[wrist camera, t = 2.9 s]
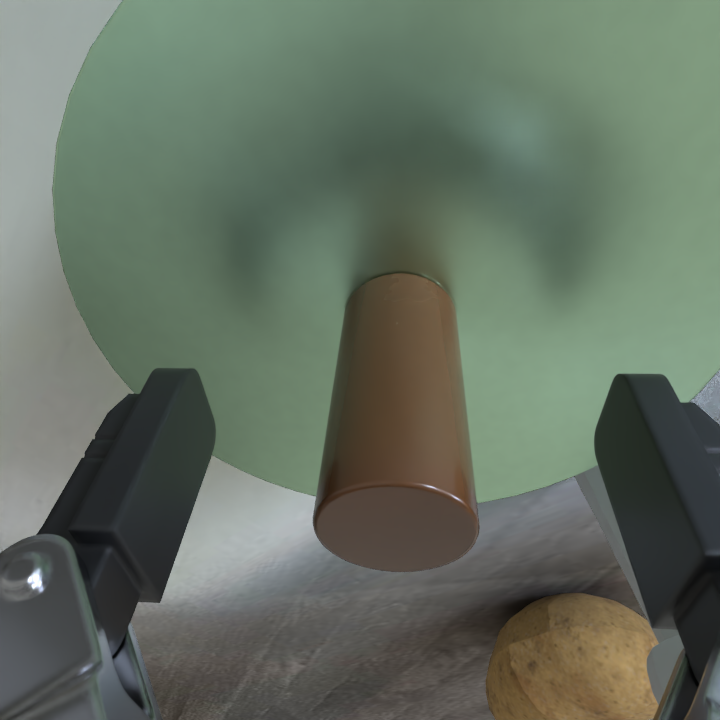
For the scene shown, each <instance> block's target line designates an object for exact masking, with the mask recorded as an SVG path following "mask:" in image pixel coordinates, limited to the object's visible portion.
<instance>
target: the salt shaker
mask: <svg viewBox="0 0 720 720" xmlns="http://www.w3.org/2000/svg"><path fill="white" fill-rule="evenodd" d="M689 403H691V402H689ZM574 477H575V479H576V481H577V483H578V484H579V486H580V488H581V490H582V492H583V494H584V496H585V498H586V500H587V502H588V503H589V505H590V507H591V509H592V511H593V513H594V515H595V517H596V519H597V520H598V522H599V524H600V527H601V529H602V531H603V533H604V535H605V537H606V539H607V541H608V543H609V545H610V547H611V549H612V551H613V553H614V555H615V557H616V559H617V561H618V563H619V565H620V567H621V569H622V571H623V573H624V575H625V577H626V579H627V581H628V583H629V585H630V587H631V589H632V591H633V593H634V595H635V597H636V599H637V601H638V603H639V605H640V607H641V609H642V611H643V613H644V615H645V617H646V619H647V621H648V623H649V625H650V627H651V624H650V621H649V618H648V615H647V612H646V609H645V605H644V602H643V599H642V596H641V593H640V590H639V587H638V584H637V581H636V578H635V575H634V572H633V569H632V566H631V563H630V560H629V557H628V554H627V551H626V548H625V545H624V542H623V539H622V536H621V533H620V530H619V527H618V524H617V521H616V518H615V515H614V512H613V509H612V506H611V503H610V500H609V497H608V494H607V491H606V488H605V484H604V481H603V478H602V475H601V472H600V469H599V466H598V465H597V466H595V467H593V468H591V469H589V470H587V471H585V472H583V473H581V474H579V475H576V476H574ZM651 629H652V627H651ZM652 631H653V633H654V635H655V637H656V639H657V641H658V643H659V644H657V645H656V646H654V647H653V648H652V650H651V651H650V653H649V655H648V657H647V673H648V677H649V681H650V684H651V688H652V692H653V694H654V696H655V699H656V701H657V703H658V705H659V704H660V701H661V699H662V696H663V694H664V691H665V689H666V686H667V684H668V681H669V679H670V676H671V674H672V671H673V669H674V666H675V664H676V661H677V659H678V656H679V654H680V653H681V651H682V650H683V648H684V646H683V644H682V641H681V638H680V635H679V633H678V630H673V629H652Z"/></svg>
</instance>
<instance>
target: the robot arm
mask: <svg viewBox="0 0 720 720" xmlns="http://www.w3.org/2000/svg"><path fill="white" fill-rule="evenodd" d="M215 439H216V426H215V420H214V417H213V414H212V411H211V408H210V405H209V402H208V399H207V396H206V393H205V390H204V387H203V384H202V381H201V378H200V376H199V373H198V372H197V370H196V369H193V368H156V369H154V370H153V371H152V372H151V374H150V376H149V377H148V379H147V381H146V383H145V385H144V387H143V389H142V390H141V392H140V394H128V395H127V396H126V397H125V398H124V399H123V400H122V401H120V402H119V403H118V404H117V405H116V406H115V407H114V408H113V409H112V410H110V411H109V412H108V413H107V415H106V417H105V419H104V420H103V422H102V424H101V426H100V427H99V429H98V431H97V432H96V434H95V439H92V441H91V443H90V445H89V446H88V448H87V450H86V451H85V457H84V458H81V460H80V462H79V464H78V465H77V467H76V469H75V471H74V472H73V474H72V476H71V477H70V479H69V481H68V483H67V484H66V486H65V488H64V490H63V491H62V493H61V495H60V496H59V498H58V500H57V502H56V503H55V505H54V507H53V509H52V510H51V512H50V514H49V516H48V517H47V519H46V521H45V522H44V524H43V526H42V527H41V529H40V530H39V532H38V533H37V535H35V536H31V537H28V538H25V539H23V540H21V541H19V542H17V543H15V544H13V545H11V546H10V547H8V548H7V549H5V550H4V551H3V552H2V553H0V720H163V719H162V716H161V713H160V710H159V707H158V704H157V701H156V698H155V694H154V691H153V688H152V685H151V682H150V679H149V676H148V673H147V669H146V666H145V663H144V660H143V657H142V654H141V651H140V648H139V644H138V641H137V638H136V635H135V632H134V629H133V626H132V624H131V622H130V621H131V618H132V616H133V613H134V611H135V608H136V605H137V603H138V602H153V603H160V601H161V598H162V596H163V593H164V590H165V587H166V584H167V581H168V578H169V576H170V573H171V570H172V567H173V564H174V561H175V558H176V556H177V553H178V550H179V547H180V544H181V541H182V538H183V536H184V533H185V530H186V527H187V524H188V521H189V518H190V516H191V513H192V510H193V507H194V504H195V501H196V498H197V496H198V493H199V490H200V487H201V484H202V481H203V478H204V476H205V473H206V470H207V467H208V464H209V461H210V458H211V456H212V453H213V450H214V446H215ZM594 450H595V456H596V460H597V463H598V466H599V469H600V472H601V475H602V478H603V481H604V484H605V488H606V491H607V494H608V497H609V500H610V503H611V506H612V509H613V512H614V515H615V518H616V521H617V524H618V527H619V530H620V533H621V536H622V539H623V542H624V545H625V548H626V551H627V554H628V557H629V560H630V563H631V566H632V569H633V572H634V575H635V578H636V581H637V584H638V587H639V590H640V593H641V596H642V599H643V602H644V605H645V609H646V612H647V615H648V618H649V621H650V624H651V627H652V629H673V630H678V633H679V635H680V638H681V641H682V644H683V646H684V648H683V650H682V651H681V653H680V654H679V656H678V659H677V661H676V664H675V666H674V669H673V671H672V674H671V676H670V679H669V681H668V684H667V686H666V689H665V691H664V694H663V696H662V699H661V701H660V704H659V706H658V708H657V711H656V713H655V716H654V718H653V720H720V426H719V424H718V423H717V422H715V421H714V420H713V419H712V418H711V417H710V416H709V415H707V414H706V413H705V412H704V411H703V410H702V409H701V408H699V407H698V406H697V405H696V404H695V403H683V402H680V401H679V399H678V397H677V395H676V393H675V391H674V389H673V388H672V386H671V384H670V382H669V380H668V379H667V378H666V376H664V375H663V374H617V375H616V376H615V377H614V379H613V381H612V384H611V386H610V389H609V392H608V395H607V398H606V400H605V403H604V406H603V409H602V412H601V414H600V417H599V420H598V423H597V426H596V429H595V435H594Z"/></svg>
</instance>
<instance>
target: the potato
mask: <svg viewBox="0 0 720 720" xmlns="http://www.w3.org/2000/svg"><path fill="white" fill-rule="evenodd" d="M657 644H659V643H658V641H657V639H656V637H655V635H654V633H653V631H652V629H651V627H650V625H649V623H648V621H647V620H646V619H645V618H643V617H642V616H640V615H639V614H638V613H636V612H635V611H633V610H632V609H630V608H628V607H626V606H624V605H622V604H620V603H619V602H617V601H615V600H610V599H606V598H602V597H598V596H593V595H589V594H585V593H562V594H557V595H551V596H546V597H543V598H541V599H539V600H537V601H534V602H532V603H530V604H529V605H527V606H526V607H525V608H523V609H522V610H521V611H520V612H518V613H517V614H516V615H514V616H513V617H512V618H510V619H509V620H508V622H507V623H506V624H505V625H504V626H503V628H502V629H501V630H500V631H499V634H498V637H497V641H496V644H495V647H494V650H493V652H492V655H491V658H490V662H489V667H488V672H487V677H486V695H487V700H488V704H489V709H490V711H491V713H492V714H493V716H494V718H495V719H496V720H649V719H652V718H654V716H655V713H656V711H657V708H658V706H659V705H658V703H657V701H656V699H655V696H654V694H653V692H652V688H651V684H650V681H649V677H648V673H647V657H648V655H649V653H650V651H651V650H652V648H653V647H654V646H656V645H657Z"/></svg>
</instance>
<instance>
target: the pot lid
mask: <svg viewBox="0 0 720 720" xmlns="http://www.w3.org/2000/svg"><path fill="white" fill-rule="evenodd" d="M52 190H53V206H54V222H55V233H56V238H57V243H58V247H59V252H60V257H61V261H62V266H63V271H64V273H65V276H66V279H67V282H68V284H69V287H70V290H71V293H72V296H73V298H74V301H75V304H76V307H77V309H78V311H79V312H80V314H81V316H82V318H83V320H84V322H85V324H86V326H87V328H88V330H89V332H90V334H91V336H92V338H93V340H94V341H95V343H96V344H97V345H98V347H99V348H100V350H101V351H102V353H103V354H104V356H105V357H106V359H107V360H108V362H109V363H110V365H111V366H112V368H113V369H114V370H115V371H116V373H117V374H118V375H119V376H120V377H121V378H122V380H123V381H124V382H125V383H126V384H127V385H128V387H129V388H130V389H131V390H132V391H133V392H134V394H140V392H141V390H142V389H143V387H144V385H145V383H146V381H147V379H148V377H149V376H150V374H151V372H152V371H153V370H154V369H156V368H193V369H196V370H197V372H198V373H199V376H200V378H201V381H202V384H203V387H204V390H205V393H206V396H207V399H208V402H209V405H210V408H211V411H212V414H213V417H214V420H215V426H216V439H215V446H214V450H213V453H212V455H213V456H215V457H217V458H218V459H220V460H222V461H224V462H226V463H228V464H230V465H232V466H234V467H236V468H238V469H239V470H241V471H244V472H246V473H249V474H251V475H253V476H256V477H258V478H260V479H263V480H265V481H267V482H270V483H273V484H276V485H279V486H282V487H285V488H288V489H291V490H294V491H297V492H300V493H304V494H308V495H312V496H316V500H315V507H314V513H313V526H314V530H315V533H316V536H317V538H318V539H319V541H320V542H321V543H322V545H323V546H324V547H325V548H326V549H328V550H329V551H330V552H332V553H333V554H335V555H336V556H338V557H339V558H341V559H343V560H345V561H348V562H350V563H353V564H355V565H359V566H362V567H366V568H370V569H375V570H381V571H391V572H413V571H422V570H428V569H433V568H437V567H440V566H443V565H446V564H449V563H451V562H453V561H455V560H457V559H459V558H460V557H462V556H463V555H465V554H466V553H467V552H468V551H469V550H470V549H471V548H472V547H473V545H474V544H475V542H476V539H477V537H478V534H479V518H478V509H477V503H483V502H488V501H493V500H498V499H502V498H507V497H512V496H516V495H520V494H523V493H527V492H530V491H534V490H537V489H540V488H544V487H547V486H550V485H552V484H555V483H558V482H560V481H563V480H566V479H568V478H571V477H573V476H576V475H579V474H581V473H583V472H585V471H587V470H589V469H591V468H593V467H595V466H597V465H598V463H597V460H596V456H595V450H594V435H595V429H596V426H597V423H598V420H599V417H600V414H601V412H602V409H603V406H604V403H605V400H606V398H607V395H608V392H609V389H610V386H611V384H612V381H613V379H614V377H615V376H616V375H617V374H663V375H664V376H666V378H667V379H668V380H669V382H670V384H671V386H672V388H673V389H674V391H675V393H676V395H677V397H678V399H679V401H680V402H683V403H689V402H690V401H691V400H692V399H693V398H694V397H695V396H696V395H697V394H698V393H699V392H700V391H701V390H702V389H703V388H704V387H705V385H706V384H707V383H708V382H709V381H710V380H711V379H712V378H713V376H714V375H715V374H716V373H717V372H718V371H719V370H720V0H122V2H121V3H120V5H119V6H118V8H117V9H116V11H115V12H114V13H113V15H112V16H111V18H110V19H109V21H108V22H107V24H106V25H105V27H104V28H103V30H102V31H101V33H100V34H99V36H98V37H97V39H96V40H95V41H94V43H93V44H92V46H91V47H90V50H89V52H88V54H87V56H86V59H85V61H84V63H83V65H82V67H81V70H80V72H79V74H78V76H77V79H76V81H75V83H74V85H73V87H72V90H71V92H70V94H69V97H68V101H67V105H66V109H65V112H64V116H63V120H62V124H61V128H60V132H59V136H58V139H57V145H56V155H55V166H54V177H53V188H52Z"/></svg>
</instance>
